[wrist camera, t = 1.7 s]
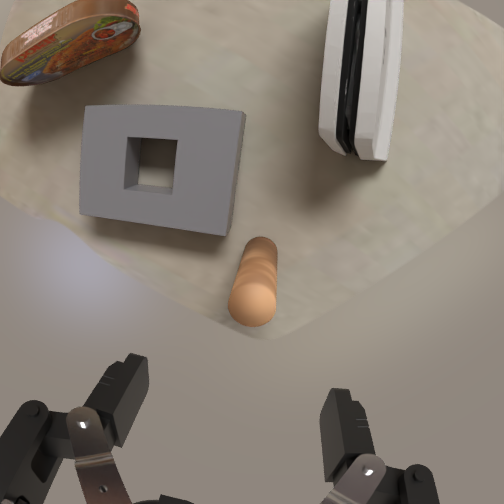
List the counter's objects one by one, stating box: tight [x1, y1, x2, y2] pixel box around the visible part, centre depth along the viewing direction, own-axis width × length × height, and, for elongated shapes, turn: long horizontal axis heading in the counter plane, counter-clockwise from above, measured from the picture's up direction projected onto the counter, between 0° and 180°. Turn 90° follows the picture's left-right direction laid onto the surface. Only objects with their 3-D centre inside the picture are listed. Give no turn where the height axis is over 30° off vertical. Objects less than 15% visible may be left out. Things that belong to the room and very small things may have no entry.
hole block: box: [79, 105, 246, 236], centre depth 25 cm, size 14×10×3 cm
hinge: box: [318, 0, 404, 161], centre depth 19 cm, size 17×5×10 cm, turn 172°
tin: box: [0, 0, 141, 86], centre depth 19 cm, size 15×3×8 cm, turn 98°
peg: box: [228, 237, 277, 327], centre depth 24 cm, size 3×3×10 cm
